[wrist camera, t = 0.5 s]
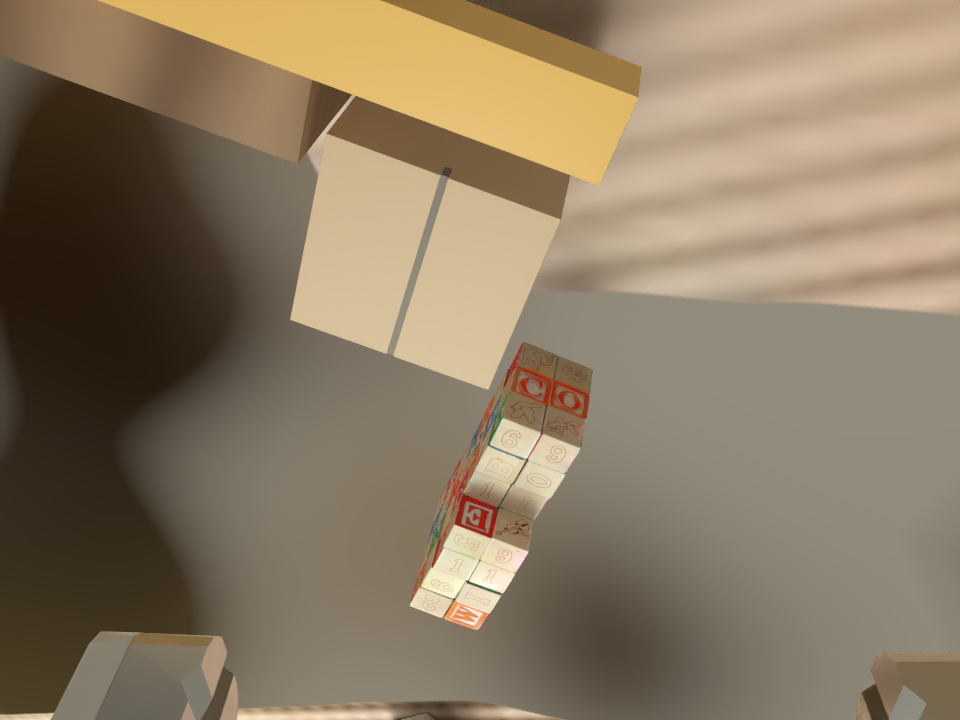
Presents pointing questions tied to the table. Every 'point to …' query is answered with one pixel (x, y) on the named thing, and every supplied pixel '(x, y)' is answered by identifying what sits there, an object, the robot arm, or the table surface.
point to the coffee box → (420, 717)
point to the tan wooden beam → (435, 68)
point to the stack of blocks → (503, 486)
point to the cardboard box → (424, 241)
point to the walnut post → (170, 73)
